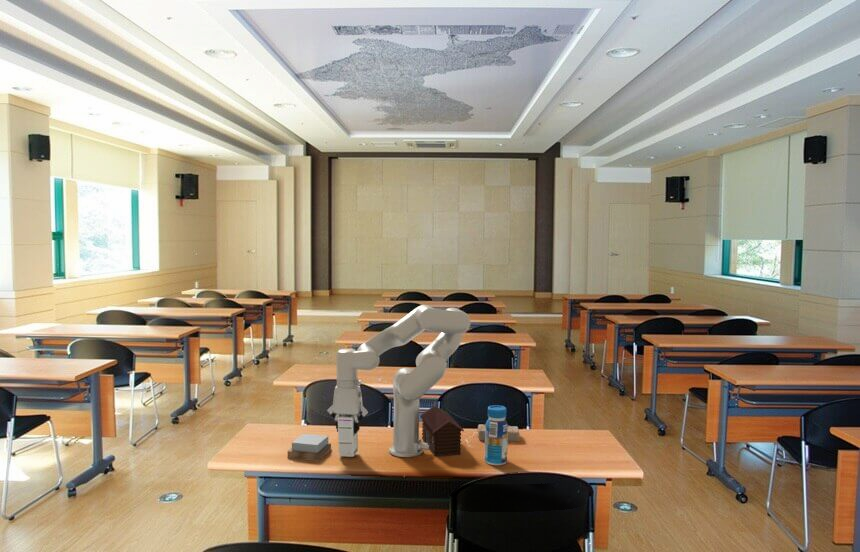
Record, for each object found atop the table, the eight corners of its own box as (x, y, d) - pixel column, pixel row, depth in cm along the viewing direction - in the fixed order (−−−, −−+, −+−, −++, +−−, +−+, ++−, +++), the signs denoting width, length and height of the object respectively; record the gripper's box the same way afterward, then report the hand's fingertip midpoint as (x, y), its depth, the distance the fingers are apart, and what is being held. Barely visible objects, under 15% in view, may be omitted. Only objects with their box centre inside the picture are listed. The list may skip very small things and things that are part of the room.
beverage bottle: (479, 459, 225) (481, 405, 223) (499, 456, 228) (501, 403, 227) (491, 467, 217) (492, 412, 216) (511, 464, 221) (513, 409, 219)
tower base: (331, 450, 232) (331, 443, 232) (318, 462, 221) (318, 454, 220) (301, 447, 235) (301, 440, 235) (287, 459, 223) (287, 451, 223)
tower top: (328, 443, 231) (328, 436, 231) (317, 453, 221) (317, 445, 221) (303, 441, 233) (303, 433, 233) (291, 450, 224) (291, 442, 224)
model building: (419, 439, 246) (420, 402, 244) (447, 437, 249) (448, 400, 247) (433, 457, 226) (434, 417, 224) (463, 455, 229) (464, 416, 227)
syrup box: (353, 457, 222) (353, 418, 221) (338, 456, 223) (337, 417, 222) (358, 451, 228) (357, 413, 227) (342, 450, 229) (342, 412, 228)
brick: (517, 435, 252) (518, 424, 252) (520, 442, 244) (520, 431, 243) (477, 434, 252) (477, 423, 252) (478, 442, 244) (478, 430, 244)
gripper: (373, 381, 225) (373, 429, 227) (328, 379, 229) (329, 426, 231) (366, 387, 218) (366, 436, 220) (321, 384, 222) (321, 433, 223)
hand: (347, 430), depth 225 cm, fingers closed on syrup box, 5 cm apart
